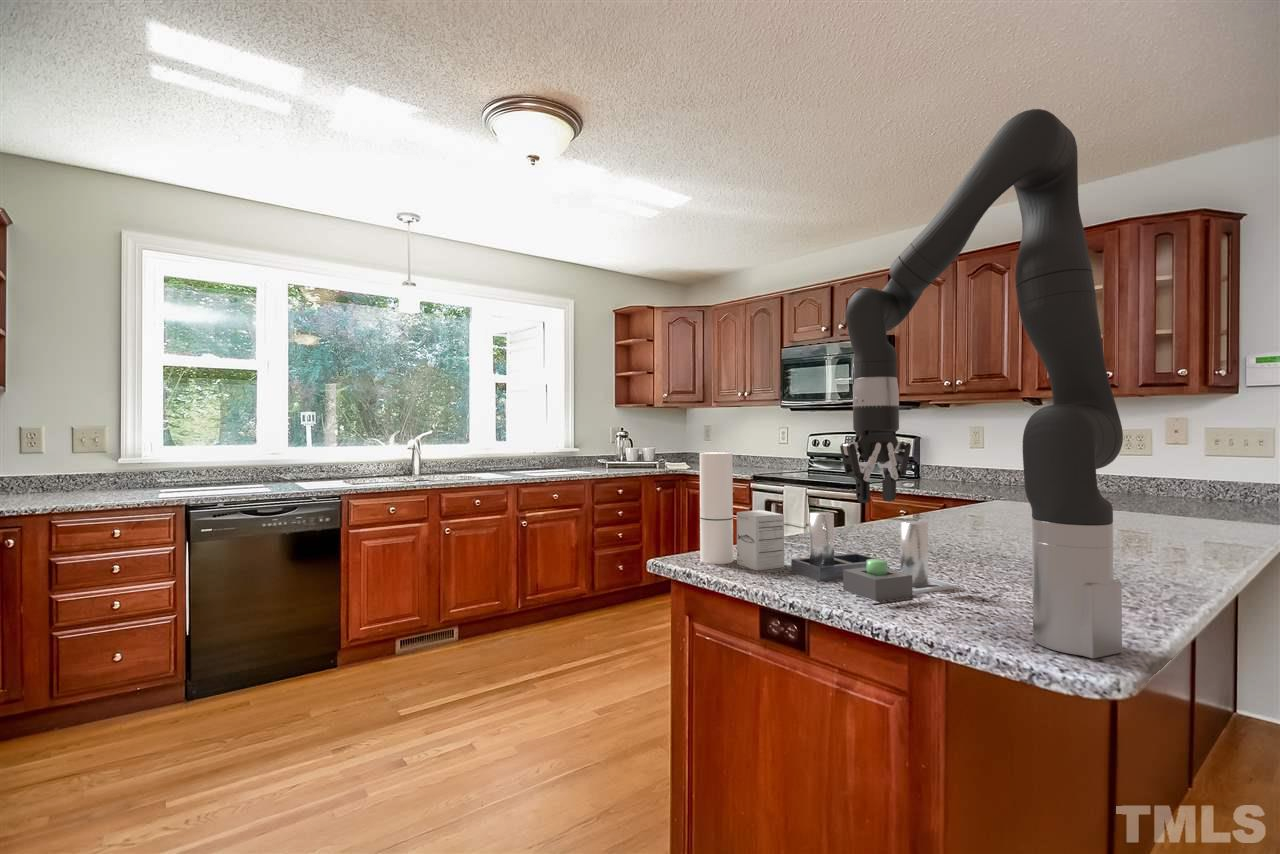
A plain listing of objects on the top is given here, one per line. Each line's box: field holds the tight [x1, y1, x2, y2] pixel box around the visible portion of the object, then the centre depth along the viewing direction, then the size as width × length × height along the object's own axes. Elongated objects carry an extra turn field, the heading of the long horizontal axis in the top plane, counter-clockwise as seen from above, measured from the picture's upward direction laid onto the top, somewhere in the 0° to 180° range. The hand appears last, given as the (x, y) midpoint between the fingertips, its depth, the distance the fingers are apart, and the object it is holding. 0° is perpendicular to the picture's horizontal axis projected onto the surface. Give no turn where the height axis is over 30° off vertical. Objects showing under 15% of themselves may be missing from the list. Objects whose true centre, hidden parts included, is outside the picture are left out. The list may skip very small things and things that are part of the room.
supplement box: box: [736, 509, 785, 571], centre depth 132 cm, size 7×7×13 cm
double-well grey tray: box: [790, 552, 882, 583], centre depth 125 cm, size 9×16×4 cm, turn 112°
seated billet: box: [809, 511, 835, 566], centre depth 123 cm, size 5×5×12 cm
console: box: [842, 567, 914, 606], centre depth 109 cm, size 8×8×5 cm
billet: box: [899, 520, 929, 589], centre depth 115 cm, size 5×5×12 cm
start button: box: [867, 558, 888, 576], centre depth 109 cm, size 3×3×3 cm
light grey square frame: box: [912, 576, 958, 595], centre depth 115 cm, size 10×10×2 cm
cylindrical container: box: [699, 451, 734, 565], centre depth 137 cm, size 7×7×25 cm
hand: (876, 501), depth 109 cm, fingers open, 5 cm apart
